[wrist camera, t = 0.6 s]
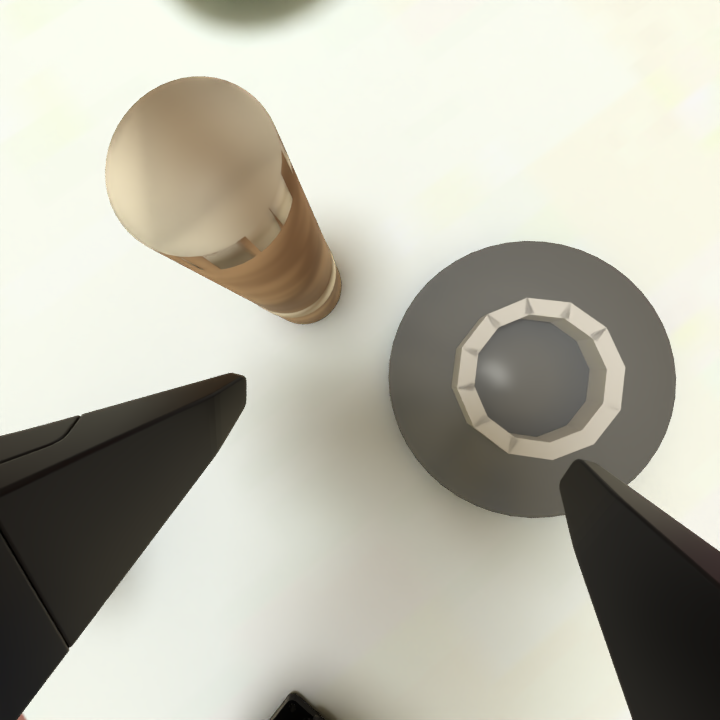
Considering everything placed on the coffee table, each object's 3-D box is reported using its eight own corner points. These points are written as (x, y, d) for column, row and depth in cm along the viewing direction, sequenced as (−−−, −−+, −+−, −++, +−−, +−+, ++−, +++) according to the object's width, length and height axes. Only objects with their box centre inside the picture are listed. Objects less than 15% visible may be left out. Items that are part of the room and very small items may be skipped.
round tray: (549, 566, 20) (573, 594, 18) (337, 399, 21) (331, 404, 19) (719, 351, 20) (767, 349, 17) (492, 197, 21) (507, 174, 19)
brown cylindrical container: (310, 340, 22) (205, 296, 9) (251, 294, 22) (68, 188, 9) (357, 278, 22) (321, 141, 9) (297, 233, 22) (177, 40, 9)
